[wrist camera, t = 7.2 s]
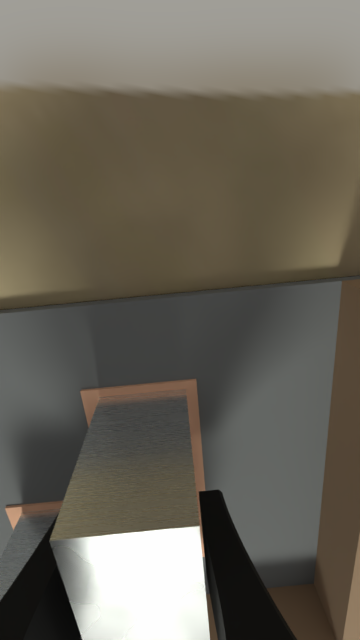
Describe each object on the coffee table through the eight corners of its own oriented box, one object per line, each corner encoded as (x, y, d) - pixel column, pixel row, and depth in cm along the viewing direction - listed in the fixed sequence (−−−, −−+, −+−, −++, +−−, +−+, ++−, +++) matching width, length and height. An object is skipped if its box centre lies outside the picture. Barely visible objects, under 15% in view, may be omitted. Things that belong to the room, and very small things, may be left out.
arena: (-65, 626, 16) (-113, 714, 13) (-244, 333, 10) (-390, 380, 8) (332, 587, 16) (366, 666, 13) (372, 274, 10) (445, 300, 8)
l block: (200, 546, 14) (217, 723, 9) (40, 561, 14) (-26, 747, 9) (185, 388, 11) (199, 525, 6) (-16, 407, 11) (-153, 560, 6)
